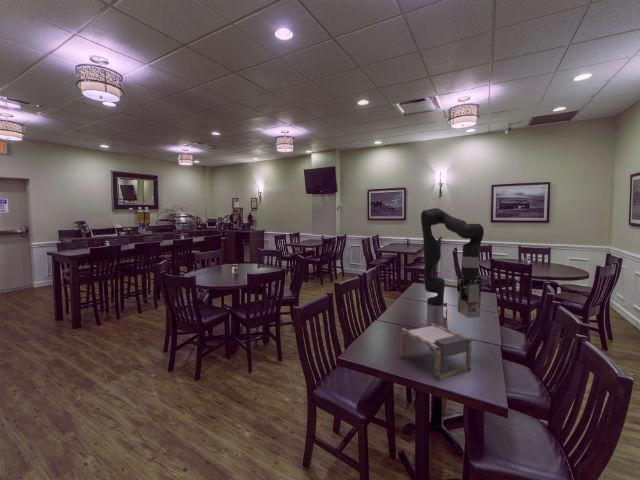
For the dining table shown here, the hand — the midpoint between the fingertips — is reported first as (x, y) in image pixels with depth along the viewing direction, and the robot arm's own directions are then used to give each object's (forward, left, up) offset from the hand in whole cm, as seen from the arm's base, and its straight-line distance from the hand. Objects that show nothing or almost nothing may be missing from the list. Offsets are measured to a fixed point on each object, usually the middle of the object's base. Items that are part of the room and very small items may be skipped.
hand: (469, 299), depth 146 cm
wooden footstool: (+16, -5, -31) cm, 35 cm away
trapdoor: (+16, -3, -21) cm, 27 cm away
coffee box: (0, 0, -8) cm, 8 cm away
